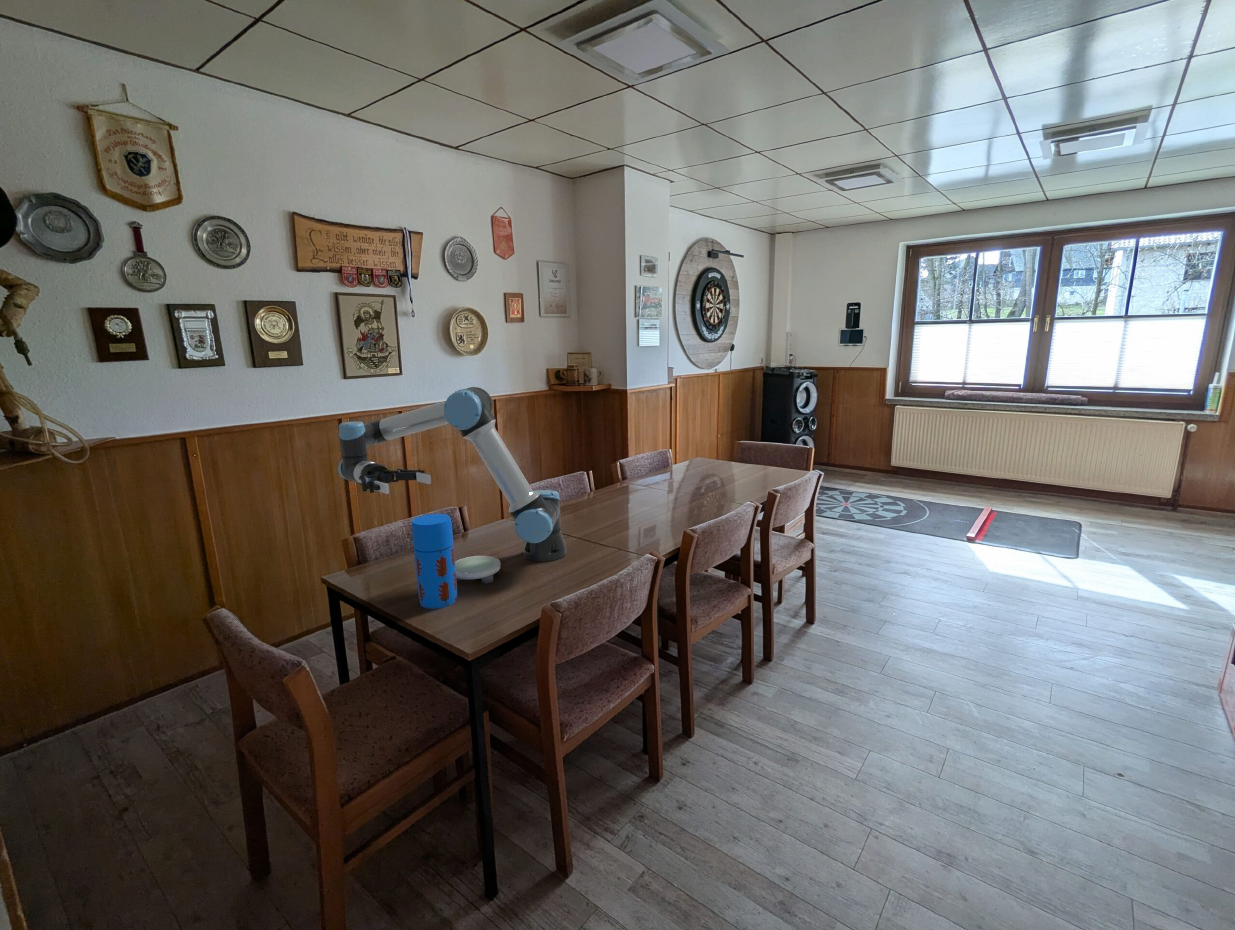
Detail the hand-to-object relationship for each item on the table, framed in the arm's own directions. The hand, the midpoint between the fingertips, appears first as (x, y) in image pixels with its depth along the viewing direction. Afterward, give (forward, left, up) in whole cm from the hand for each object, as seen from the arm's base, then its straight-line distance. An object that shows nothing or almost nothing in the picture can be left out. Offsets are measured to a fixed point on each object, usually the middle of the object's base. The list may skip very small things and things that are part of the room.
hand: (409, 484), depth 167 cm
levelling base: (-12, -13, -34) cm, 38 cm away
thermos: (-8, +5, -34) cm, 35 cm away
